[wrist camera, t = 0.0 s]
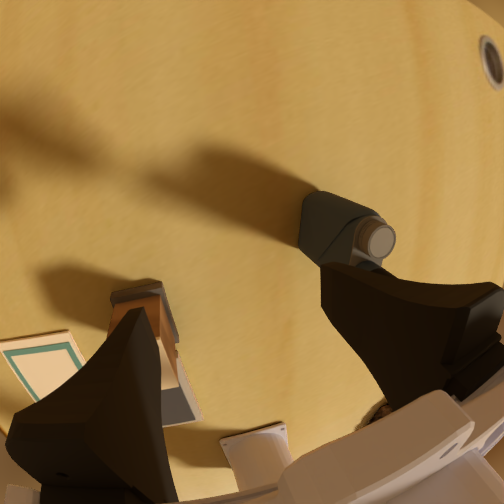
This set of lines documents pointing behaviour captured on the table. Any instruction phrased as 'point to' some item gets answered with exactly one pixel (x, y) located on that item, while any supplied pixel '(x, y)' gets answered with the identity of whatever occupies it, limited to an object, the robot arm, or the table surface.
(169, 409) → the ink pad
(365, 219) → the vaping device
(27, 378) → the print sheet
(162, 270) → the table surface
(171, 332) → the stamp
